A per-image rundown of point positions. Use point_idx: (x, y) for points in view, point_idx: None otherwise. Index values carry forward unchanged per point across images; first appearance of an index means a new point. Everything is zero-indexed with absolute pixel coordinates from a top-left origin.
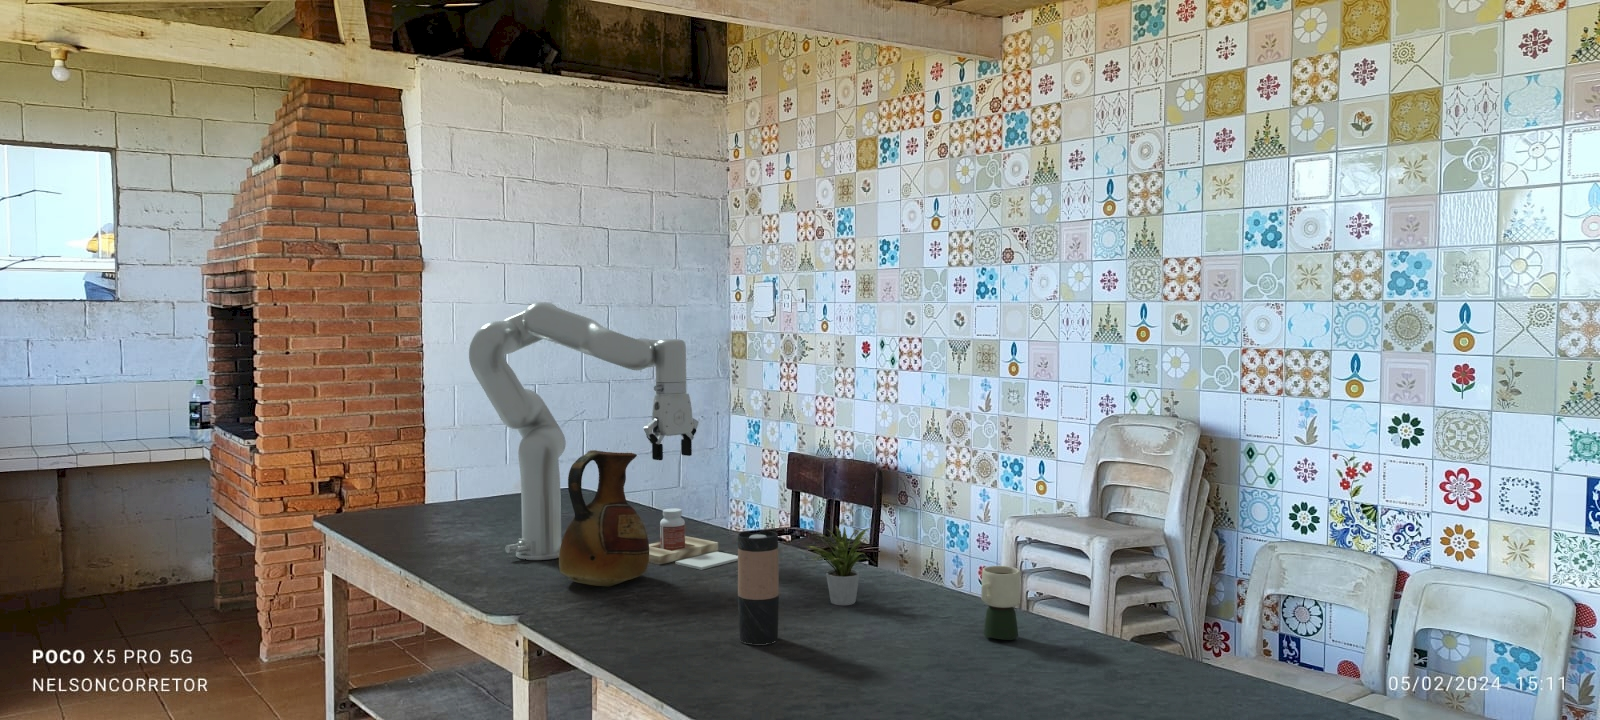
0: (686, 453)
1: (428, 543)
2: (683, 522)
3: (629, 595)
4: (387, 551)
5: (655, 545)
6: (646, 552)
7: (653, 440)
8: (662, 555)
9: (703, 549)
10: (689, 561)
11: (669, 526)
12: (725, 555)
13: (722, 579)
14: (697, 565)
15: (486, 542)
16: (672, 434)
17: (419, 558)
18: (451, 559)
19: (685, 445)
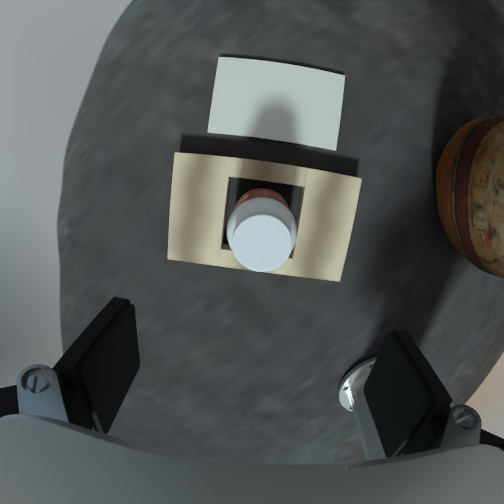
0: (131, 333)
1: None
2: (252, 200)
3: (500, 111)
4: None
5: None
6: (493, 115)
7: (487, 432)
8: (351, 177)
9: (224, 156)
10: (319, 124)
11: (293, 217)
12: (229, 92)
13: (372, 16)
14: (337, 90)
15: (333, 456)
16: (422, 456)
17: None
18: None
19: (109, 377)
